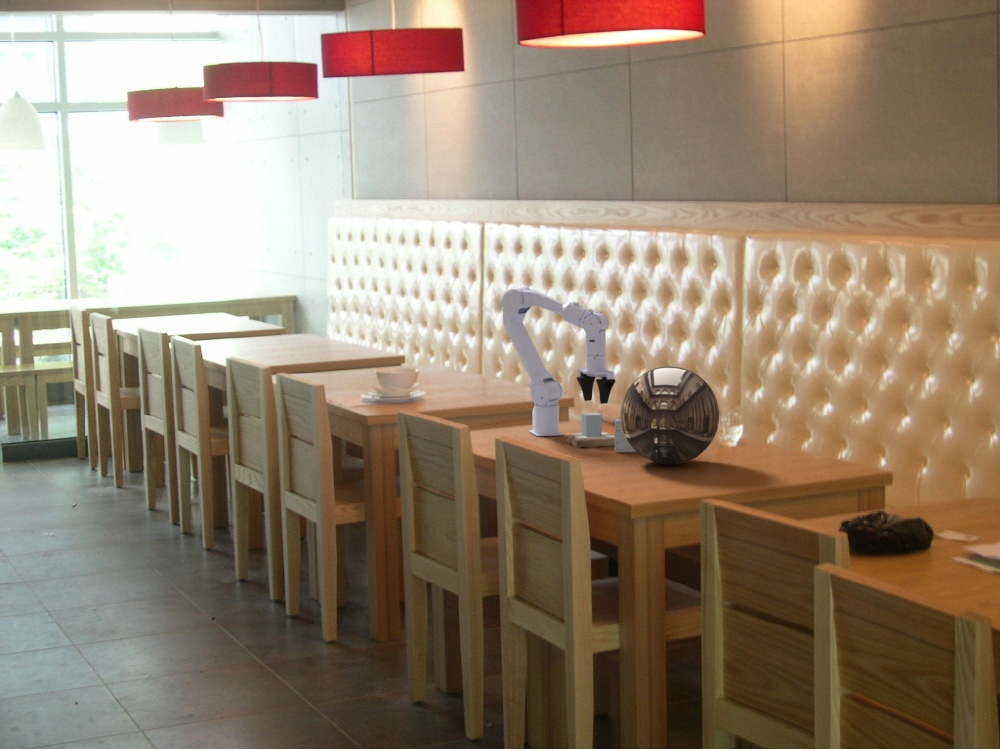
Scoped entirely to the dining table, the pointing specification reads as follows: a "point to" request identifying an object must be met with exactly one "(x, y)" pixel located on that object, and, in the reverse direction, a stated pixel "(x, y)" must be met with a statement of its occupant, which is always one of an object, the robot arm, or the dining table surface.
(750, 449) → the dining table surface
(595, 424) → the block
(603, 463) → the dining table surface
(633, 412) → the sphere
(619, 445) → the medicine box
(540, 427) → the robot arm
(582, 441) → the brown picture frame
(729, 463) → the dining table surface
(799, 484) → the dining table surface
